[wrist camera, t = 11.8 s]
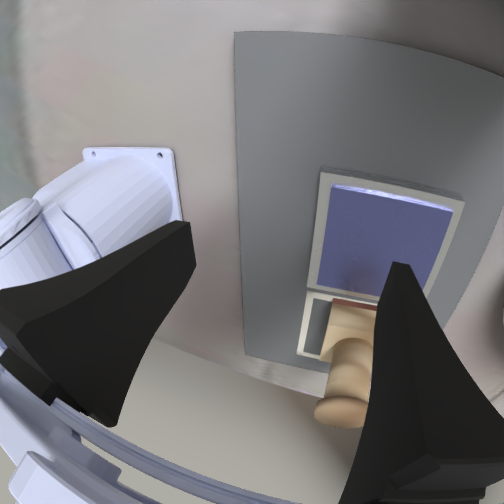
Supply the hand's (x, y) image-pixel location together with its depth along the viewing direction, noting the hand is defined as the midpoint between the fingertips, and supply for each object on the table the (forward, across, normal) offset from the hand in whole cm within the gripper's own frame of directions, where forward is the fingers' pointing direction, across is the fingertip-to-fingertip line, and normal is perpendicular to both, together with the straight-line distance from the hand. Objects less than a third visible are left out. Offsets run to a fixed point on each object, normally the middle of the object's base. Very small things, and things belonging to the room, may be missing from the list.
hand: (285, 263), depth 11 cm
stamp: (+10, -5, +13) cm, 17 cm away
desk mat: (+10, -4, +7) cm, 13 cm away
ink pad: (+10, -4, +5) cm, 12 cm away
